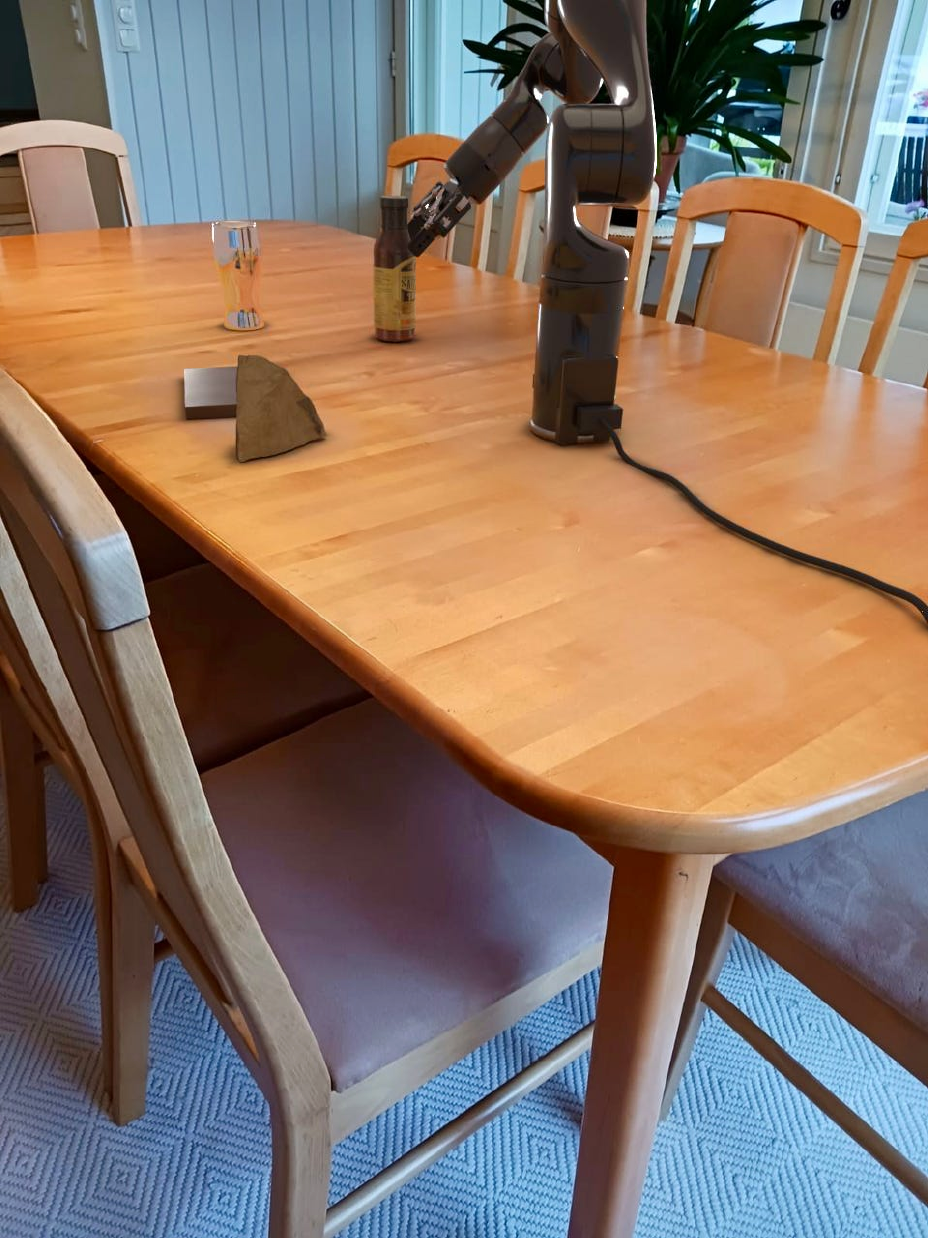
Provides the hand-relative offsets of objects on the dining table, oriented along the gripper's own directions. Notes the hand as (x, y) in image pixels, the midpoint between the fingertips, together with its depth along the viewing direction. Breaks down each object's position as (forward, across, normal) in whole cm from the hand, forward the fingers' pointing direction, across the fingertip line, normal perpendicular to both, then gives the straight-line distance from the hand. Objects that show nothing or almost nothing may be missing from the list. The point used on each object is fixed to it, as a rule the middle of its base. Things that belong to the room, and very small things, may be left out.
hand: (405, 247), depth 137 cm
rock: (+25, +44, -7) cm, 51 cm away
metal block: (+28, +25, -10) cm, 39 cm away
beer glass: (+26, -11, -8) cm, 29 cm away
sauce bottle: (+11, 0, +8) cm, 13 cm away
